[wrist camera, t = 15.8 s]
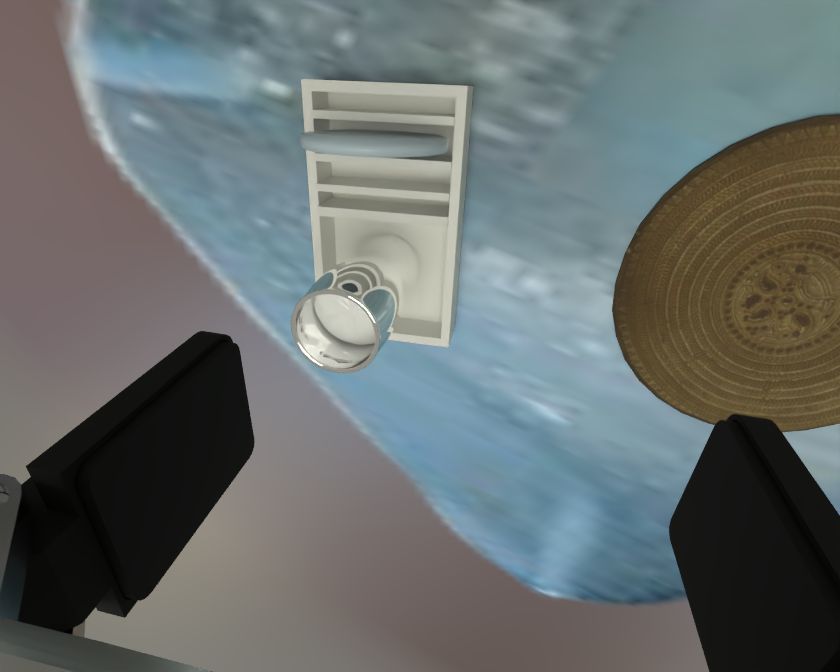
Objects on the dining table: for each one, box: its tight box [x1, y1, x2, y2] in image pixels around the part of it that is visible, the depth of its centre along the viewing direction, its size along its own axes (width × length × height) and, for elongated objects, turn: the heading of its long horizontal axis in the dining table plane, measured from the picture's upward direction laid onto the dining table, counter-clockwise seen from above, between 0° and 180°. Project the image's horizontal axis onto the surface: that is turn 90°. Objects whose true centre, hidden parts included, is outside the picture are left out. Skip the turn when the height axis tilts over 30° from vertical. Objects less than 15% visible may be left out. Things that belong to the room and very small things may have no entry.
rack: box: [300, 79, 474, 347], centre depth 40 cm, size 22×13×12 cm, turn 178°
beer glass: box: [291, 234, 419, 373], centre depth 40 cm, size 7×7×15 cm
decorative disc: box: [612, 115, 840, 432], centre depth 40 cm, size 29×3×30 cm
